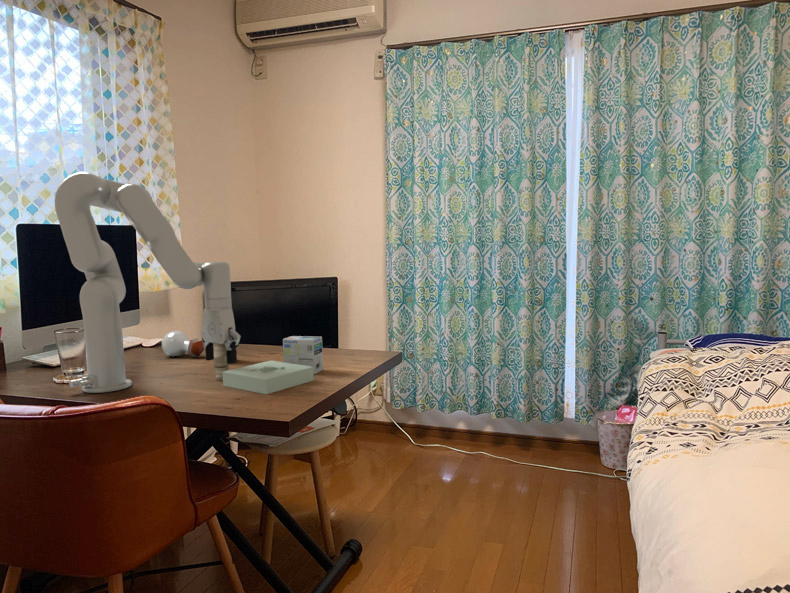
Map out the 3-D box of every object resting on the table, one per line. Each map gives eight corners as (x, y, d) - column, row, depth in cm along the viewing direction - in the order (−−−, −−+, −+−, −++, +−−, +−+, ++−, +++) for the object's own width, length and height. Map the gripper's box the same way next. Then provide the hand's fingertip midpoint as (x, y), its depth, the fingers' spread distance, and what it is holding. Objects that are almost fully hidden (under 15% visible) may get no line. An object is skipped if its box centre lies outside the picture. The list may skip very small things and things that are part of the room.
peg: (220, 381, 169) (218, 340, 168) (212, 379, 171) (209, 339, 170) (232, 378, 172) (230, 338, 171) (223, 376, 174) (221, 337, 173)
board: (266, 394, 153) (265, 379, 152) (223, 385, 163) (222, 371, 163) (313, 380, 167) (313, 366, 167) (271, 373, 178) (270, 360, 178)
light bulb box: (324, 369, 181) (322, 335, 180) (315, 374, 175) (314, 339, 174) (292, 368, 184) (291, 335, 183) (283, 373, 178) (281, 338, 177)
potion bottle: (166, 358, 212) (200, 365, 207) (151, 347, 204) (185, 354, 199) (178, 336, 216) (210, 342, 211) (163, 324, 208) (197, 330, 203)
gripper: (189, 304, 171) (192, 360, 173) (226, 306, 161) (229, 367, 163) (210, 301, 178) (213, 356, 179) (247, 304, 167) (250, 362, 169)
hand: (221, 361), depth 171 cm, fingers open, 9 cm apart
